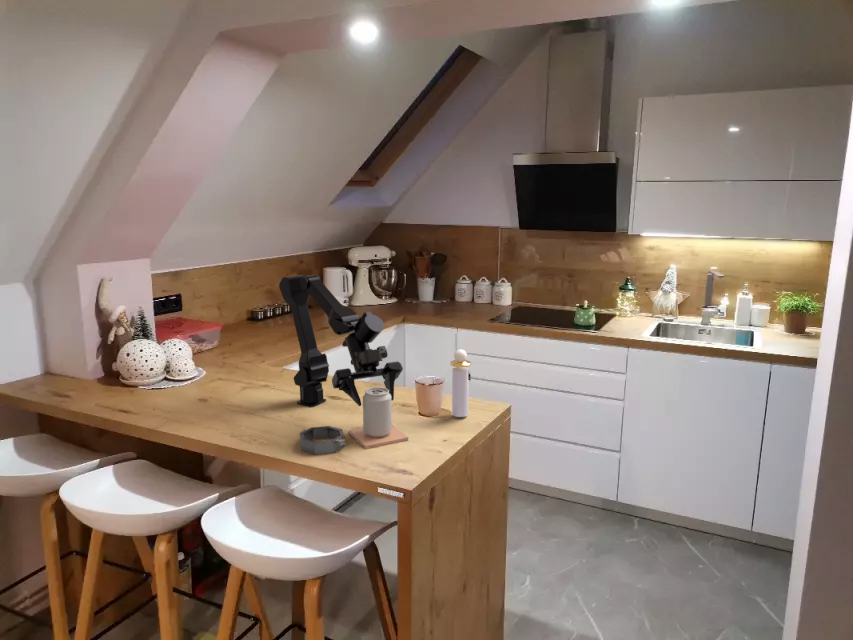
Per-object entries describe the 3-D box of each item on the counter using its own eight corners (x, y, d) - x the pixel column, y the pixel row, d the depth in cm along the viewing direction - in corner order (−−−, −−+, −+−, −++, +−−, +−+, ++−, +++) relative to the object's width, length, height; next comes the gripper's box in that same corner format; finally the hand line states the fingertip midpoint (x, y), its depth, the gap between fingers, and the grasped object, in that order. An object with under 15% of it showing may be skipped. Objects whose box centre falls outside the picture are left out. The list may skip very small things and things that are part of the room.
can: (391, 428, 175) (391, 385, 172) (391, 438, 167) (391, 394, 165) (364, 428, 174) (363, 385, 172) (362, 439, 167) (361, 394, 165)
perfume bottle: (461, 421, 181) (461, 353, 177) (445, 416, 185) (446, 349, 181) (474, 416, 185) (475, 349, 181) (458, 411, 189) (459, 345, 185)
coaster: (348, 432, 173) (348, 430, 173) (389, 425, 179) (389, 422, 179) (365, 448, 163) (365, 446, 163) (408, 440, 168) (408, 437, 168)
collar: (287, 447, 164) (287, 436, 163) (316, 433, 173) (315, 422, 173) (329, 458, 157) (328, 447, 157) (356, 443, 167) (356, 432, 166)
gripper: (334, 340, 166) (350, 393, 159) (399, 332, 174) (418, 382, 167) (325, 362, 175) (340, 413, 167) (388, 353, 183) (405, 402, 176)
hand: (376, 402), depth 169 cm, fingers open, 9 cm apart
